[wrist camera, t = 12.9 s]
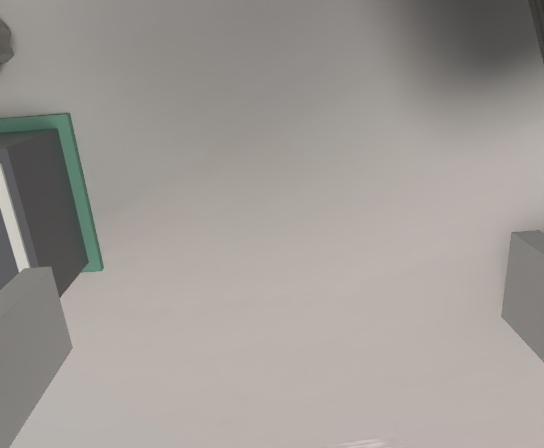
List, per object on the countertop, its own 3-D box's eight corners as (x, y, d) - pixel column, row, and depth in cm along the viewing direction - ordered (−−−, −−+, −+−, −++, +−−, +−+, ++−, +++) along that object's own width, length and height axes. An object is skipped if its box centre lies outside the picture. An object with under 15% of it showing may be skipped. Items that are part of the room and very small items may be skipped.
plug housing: (-17, 133, 37) (-89, 155, 29) (57, 128, 37) (4, 148, 29) (22, 267, 41) (-32, 316, 34) (88, 262, 41) (49, 310, 34)
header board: (-29, 120, 37) (-76, 131, 32) (69, 113, 37) (38, 123, 32) (17, 274, 42) (-18, 305, 37) (103, 268, 42) (81, 298, 37)
